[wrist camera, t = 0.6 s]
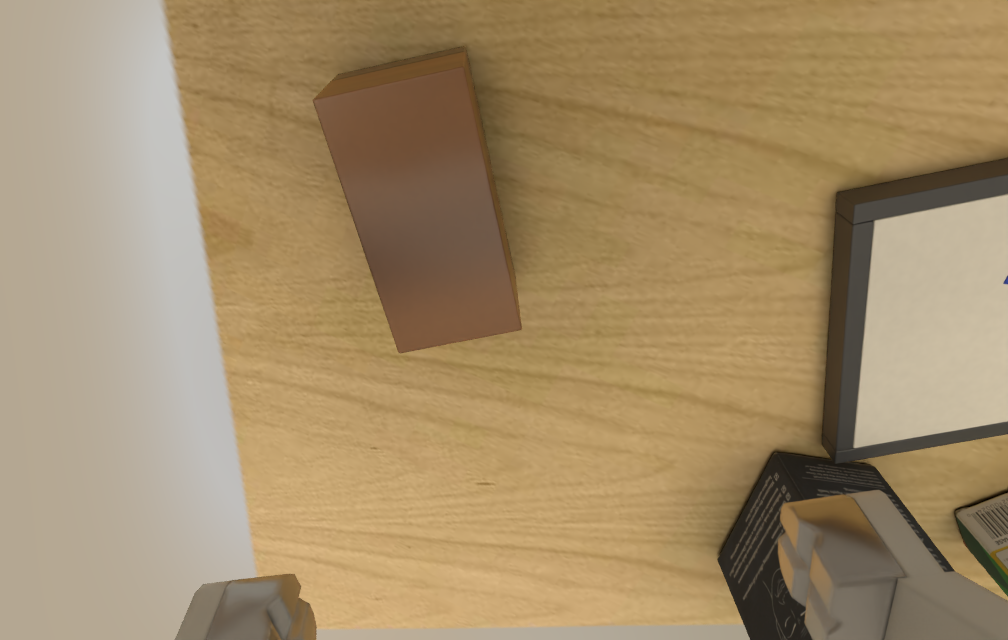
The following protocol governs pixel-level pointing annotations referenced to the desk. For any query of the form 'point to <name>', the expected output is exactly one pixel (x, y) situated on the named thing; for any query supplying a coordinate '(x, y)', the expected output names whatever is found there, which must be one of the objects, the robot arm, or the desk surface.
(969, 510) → the crayon box
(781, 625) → the box
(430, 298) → the eraser
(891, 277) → the whiteboard
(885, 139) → the desk surface
